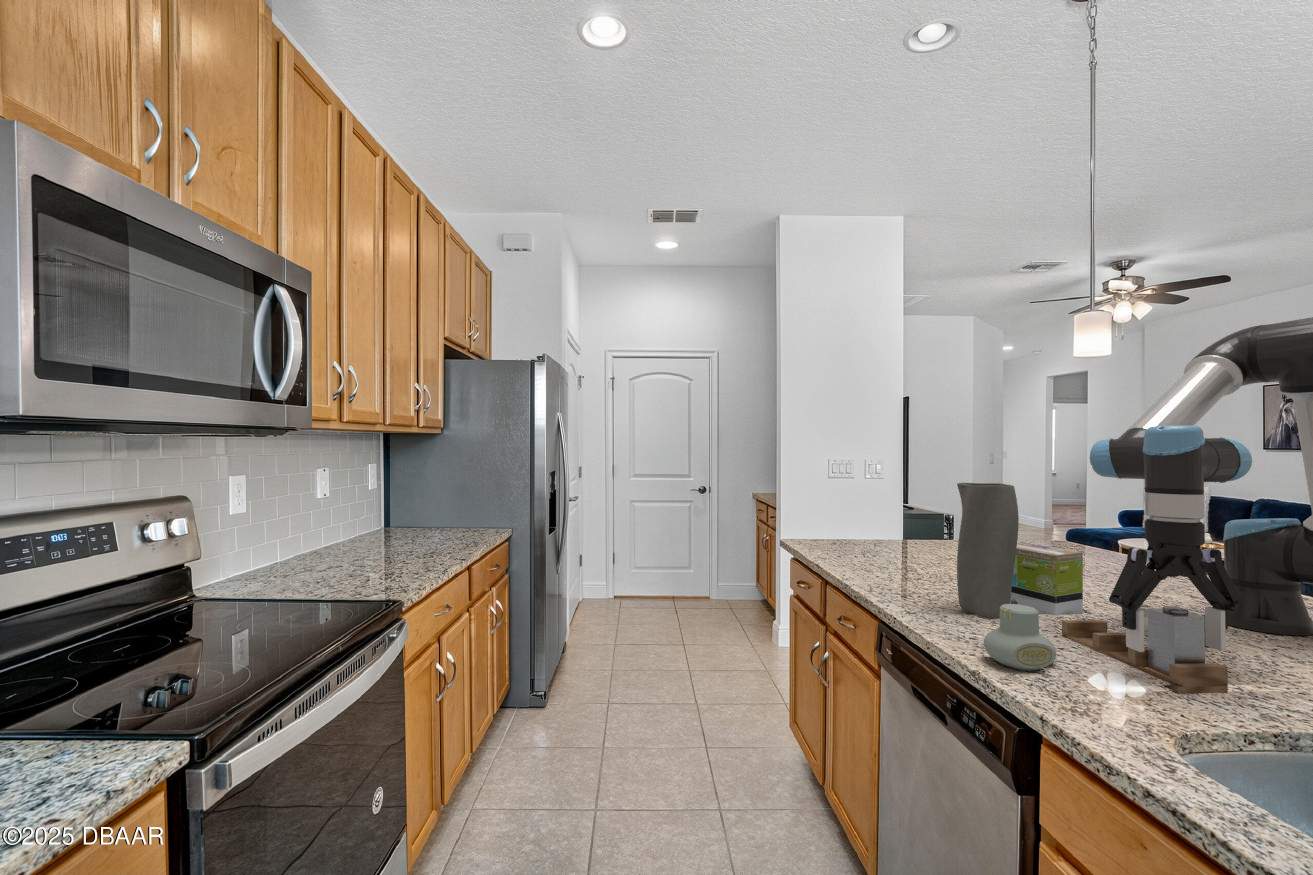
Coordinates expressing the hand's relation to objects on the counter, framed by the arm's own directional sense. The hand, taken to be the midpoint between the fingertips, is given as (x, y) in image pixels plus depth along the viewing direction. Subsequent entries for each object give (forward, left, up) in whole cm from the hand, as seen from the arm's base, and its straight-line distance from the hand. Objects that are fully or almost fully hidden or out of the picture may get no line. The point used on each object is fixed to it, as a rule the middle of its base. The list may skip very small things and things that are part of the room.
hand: (1175, 649), depth 99 cm
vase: (+9, -38, -5) cm, 39 cm away
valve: (-16, -19, -6) cm, 26 cm away
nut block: (0, 0, -4) cm, 4 cm away
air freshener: (+21, -8, -5) cm, 23 cm away
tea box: (-7, -44, -5) cm, 45 cm away
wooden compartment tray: (0, -8, -5) cm, 10 cm away
